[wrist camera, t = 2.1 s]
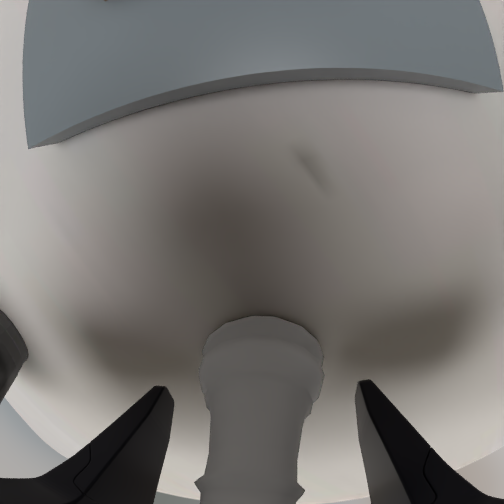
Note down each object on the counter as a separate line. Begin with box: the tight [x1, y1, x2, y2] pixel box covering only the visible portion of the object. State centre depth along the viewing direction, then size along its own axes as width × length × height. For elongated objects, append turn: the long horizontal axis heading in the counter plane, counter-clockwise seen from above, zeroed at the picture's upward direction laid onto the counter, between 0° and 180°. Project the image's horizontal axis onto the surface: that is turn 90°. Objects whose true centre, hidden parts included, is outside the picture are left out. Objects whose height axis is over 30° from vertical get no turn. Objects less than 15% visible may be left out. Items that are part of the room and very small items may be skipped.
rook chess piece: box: [194, 316, 324, 504], centre depth 7 cm, size 4×4×8 cm
